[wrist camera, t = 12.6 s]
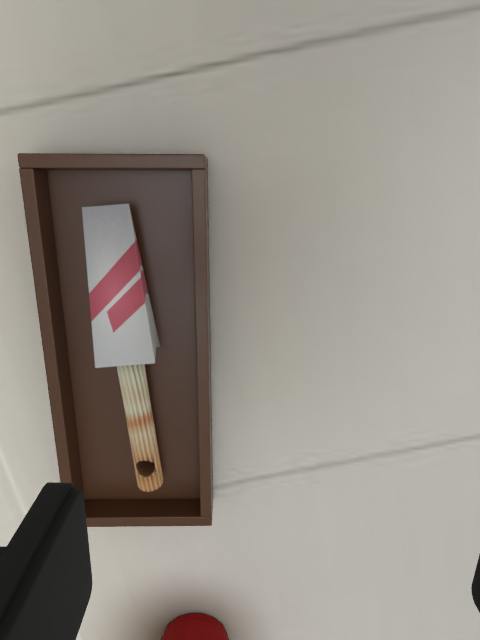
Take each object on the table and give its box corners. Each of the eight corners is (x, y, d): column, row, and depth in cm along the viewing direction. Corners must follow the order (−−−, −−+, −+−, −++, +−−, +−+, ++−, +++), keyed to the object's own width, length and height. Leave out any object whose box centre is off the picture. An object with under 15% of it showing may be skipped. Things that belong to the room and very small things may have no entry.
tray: (37, 156, 28) (16, 153, 25) (207, 157, 28) (204, 154, 25) (79, 501, 35) (66, 527, 32) (213, 500, 35) (211, 525, 32)
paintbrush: (133, 204, 25) (173, 495, 31) (142, 201, 27) (177, 470, 34) (64, 209, 25) (118, 499, 31) (79, 205, 27) (127, 473, 34)
